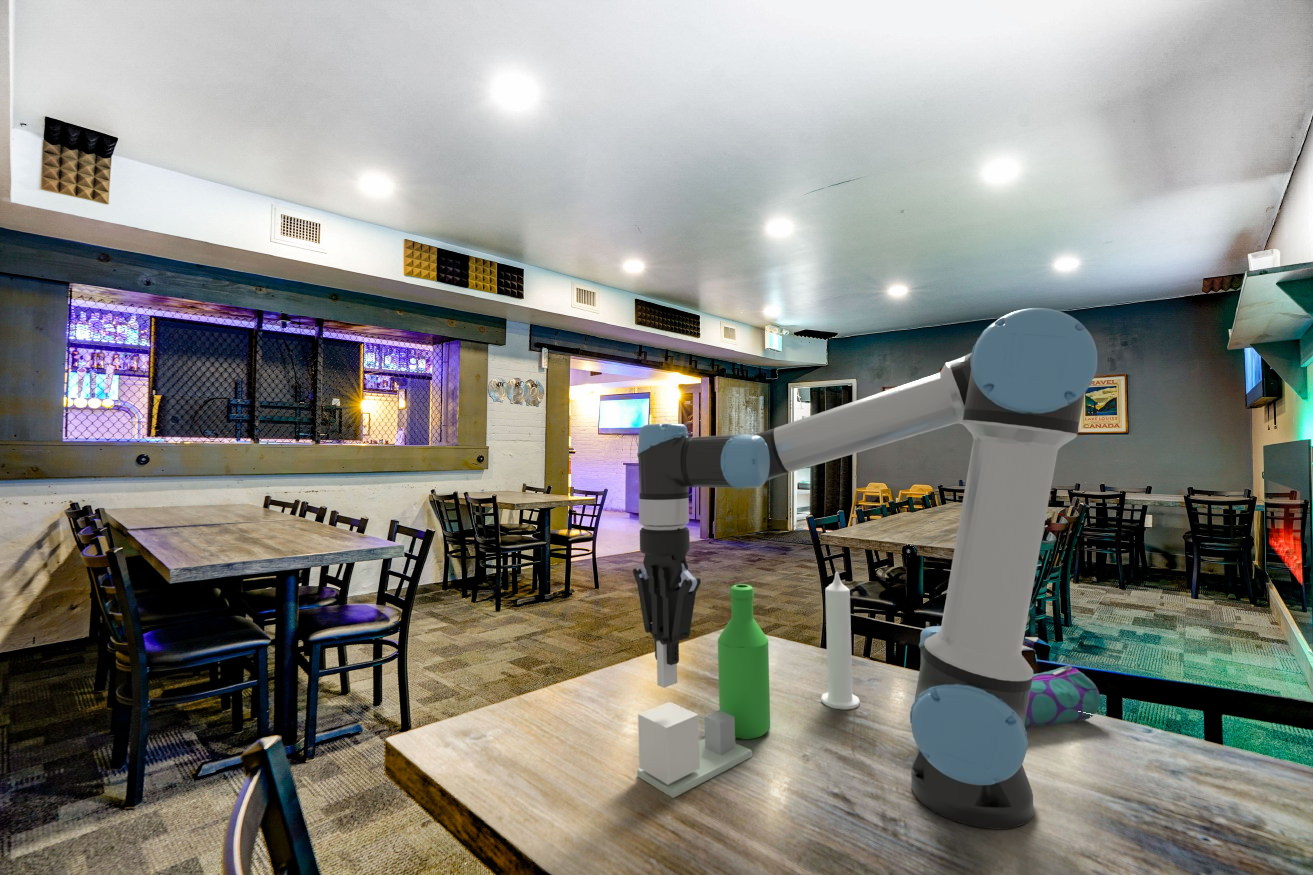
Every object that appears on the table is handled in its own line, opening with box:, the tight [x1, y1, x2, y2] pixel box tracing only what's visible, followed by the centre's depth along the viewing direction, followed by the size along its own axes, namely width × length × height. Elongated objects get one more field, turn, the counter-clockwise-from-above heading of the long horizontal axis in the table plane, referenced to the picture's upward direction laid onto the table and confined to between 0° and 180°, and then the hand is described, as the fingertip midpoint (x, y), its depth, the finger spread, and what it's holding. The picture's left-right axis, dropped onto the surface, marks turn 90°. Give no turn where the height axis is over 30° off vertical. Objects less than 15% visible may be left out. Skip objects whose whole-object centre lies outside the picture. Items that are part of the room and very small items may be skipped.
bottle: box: [717, 583, 771, 740], centre depth 107 cm, size 9×9×25 cm
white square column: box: [637, 701, 700, 785], centre depth 92 cm, size 6×6×8 cm
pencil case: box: [1025, 665, 1101, 729], centre depth 107 cm, size 21×9×10 cm, turn 104°
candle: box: [820, 571, 860, 711], centre depth 118 cm, size 7×7×25 cm
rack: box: [636, 709, 753, 799], centre depth 95 cm, size 8×17×6 cm, turn 131°
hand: (667, 683), depth 92 cm, fingers closed
